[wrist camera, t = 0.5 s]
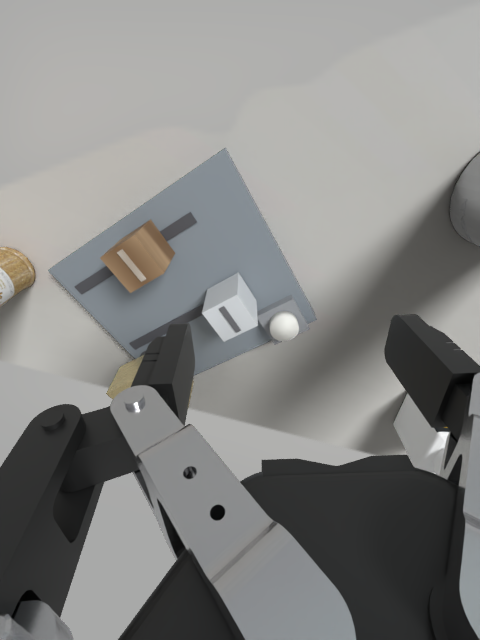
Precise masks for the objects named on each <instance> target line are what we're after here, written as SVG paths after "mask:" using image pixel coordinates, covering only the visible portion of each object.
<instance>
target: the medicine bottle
mask: <svg viewBox="0 0 480 640" xmlns="http://www.w3.org/2000/svg"><path fill="white" fill-rule="evenodd" d="M393 425H394V427H395V429H396V431H397V433H398V435H399V437H400V439H401V441H402V443H403V446H404V448H405V450H406V452H407V454H408V456H409V458H410V460H411V462H412V464H413V466H414V467H415V468H419V469H422V470H426V471H429V472H431V473H436V475H440V470H441V465H442V460H443V454H444V449H445V444H446V439H447V436H448V434H449V432H450V430H449V429H448V427H440V428H431V426H430V425H429V423H428V422H427V420H426V419H425V418H424V416H423V415H422V413H421V412H420V410H419V409H418V407H417V406H416V404H415V403H414V402H413V400H412V399H411V397H410V396H409V394H408V393H407V395H406V397H405V399H404V401H403V404H402V406H401V408H400V410H399V412H398V414H397V417H396V419H395V421H394V423H393Z"/></svg>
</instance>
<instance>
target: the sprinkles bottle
mask: <svg viewBox="0 0 480 640" xmlns="http://www.w3.org/2000/svg"><path fill="white" fill-rule="evenodd" d="M34 280H35V272H34V268H33V266H32V264H31V263H30V261H29V260H28V258H27V257H25V256H24V255H23V254H22V253H20V252H19V251H17V250H14V249H11V248H8V247H0V307H1V306H2V305H4V304H5V303H6V302H8V301H9V299H10V298H12V297H13V296H15V295H16V294H17V293H19V292H20V291H21V290H23V289H26V288H28V287H29V286H31V285H32V284H33V282H34Z"/></svg>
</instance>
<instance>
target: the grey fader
mask: <svg viewBox="0 0 480 640" xmlns="http://www.w3.org/2000/svg"><path fill="white" fill-rule="evenodd" d="M202 314H203V315H204V317H205V318H206V319H207V320H208V322H209V323H210V324H211V326H212V327H213V328H214V330H215V331H216V332H217V334H218V335H219V336H220V337H221V339H222V340H223V341H224V342H225V341H227V340H229V339H231V338H233V337H235V336H237V335H239V334H241V333H244V332H246V331H248V330H250V329H252V328H254V327H256V326H258V317H257V301H256V299H255V298H254V296H253V294H252V293H251V291H250V290H249V288H248V287H247V285H246V283H245V282H244V280H243V279H242V277H241V276H240V274H239V272H238V273H236V274H234V275H233V276H231V277H229V278H227V279H225V280H223V281H222V282H220V283H218V284H216V285H214V286H212V287H211V288H209V289H207V293H206V298H205V302H204V306H203V310H202Z"/></svg>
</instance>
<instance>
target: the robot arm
mask: <svg viewBox="0 0 480 640" xmlns="http://www.w3.org/2000/svg"><path fill="white" fill-rule="evenodd" d="M450 217H451V221H452V224H453V227H454V229H455V230H456V231H457V232H458V234H459V235H460V236H462V237H463V238H464V239H466V240H468V241H469V242H471V243H473V244H475V245H477V246H479V247H480V153H479V154H478V155H477V156H476V157H475V158H474V159H473V160H472V161H471V162H470V163H469V165H468V166H467V167H466V169H465V170H464V171H463V173H462V174H461V176H460V178H459V180H458V182H457V183H456V185H455V188H454V191H453V194H452V197H451V203H450ZM460 349H461V348H460V347H458V346H457V345H456V344H455V343H453V341H452V340H451V339H450V338H449V337H448V336H446V335H445V334H444V333H443V332H441V331H439V330H437V329H435V328H433V327H431V326H428V325H427V324H426V323H425V322H424V321H423V320H422V319H421V318H420V317H419V316H418V315H416V314H410V315H395V316H394V317H393V318H392V320H391V324H390V328H389V332H388V337H387V341H386V345H385V359H386V362H387V363H388V365H389V366H390V368H391V369H392V371H393V372H394V374H395V375H396V377H397V378H398V380H399V381H400V383H401V384H402V385H403V387H404V388H405V390H406V391H407V393H408V394H409V396H410V397H411V399H412V400H413V402H414V403H415V404H416V406H417V407H418V409H419V410H420V412H421V413H422V415H423V416H424V418H425V419H426V420H427V422H428V423H429V425H430V426H431V428H440V427H448V429H449V430H450V432H449V434H448V436H447V439H446V444H445V449H444V454H443V460H442V465H441V470H440V475H436V474H434V473H431V472H429V471H426V470H422V469H419V468H415V467H414V466H413V465H412V463H411V461H410V459H409V457H408V455H388V456H370V457H367V458H364V459H360V460H357V461H354V462H351V463H347V464H344V465H340V466H332V465H327V464H322V463H316V462H311V461H306V460H301V459H277V460H262V472H259V473H256V474H254V475H251V476H249V477H247V478H245V479H244V480H242V481H239V480H238V479H237V478H236V477H235V475H234V474H233V473H232V472H231V471H230V469H229V468H228V467H227V466H226V465H225V463H224V462H223V461H222V460H221V458H220V457H219V456H218V455H217V454H216V453H215V452H214V450H213V449H212V448H211V446H210V445H209V444H208V443H207V442H206V440H205V439H204V438H203V437H202V435H201V434H200V433H199V432H198V431H197V429H196V428H195V427H194V426H193V425H191V424H188V425H187V426H185V420H186V415H187V409H188V404H189V398H190V393H191V387H192V382H193V376H194V371H195V354H194V347H193V340H192V333H191V327H190V324H189V323H178V324H170V326H169V328H168V331H167V334H166V336H162V337H156V338H155V339H154V340H153V341H152V342H151V343H150V344H149V345H148V347H147V350H146V352H145V355H144V357H143V359H142V362H141V364H140V366H139V368H138V371H137V373H136V375H135V378H134V380H133V382H132V385H131V387H130V388H127V389H125V390H123V391H122V392H120V393H119V394H118V395H116V397H115V398H114V399H113V401H112V403H111V406H109V407H107V408H103V409H100V410H97V411H93V412H89V413H85V414H81V412H80V410H79V408H78V407H76V406H74V405H69V404H63V405H58V406H54V407H51V408H49V409H47V410H45V411H43V412H42V413H40V414H39V415H37V417H35V418H34V419H33V420H32V421H31V422H30V424H29V425H28V427H27V428H26V430H25V431H24V432H23V434H22V436H21V437H20V438H19V440H18V442H17V443H16V445H15V446H14V447H13V449H12V451H11V452H10V454H9V455H8V457H7V458H6V460H5V461H4V463H3V464H2V466H1V467H0V640H73V636H72V633H71V631H70V629H69V628H68V626H67V625H66V624H65V623H64V622H63V621H62V620H61V619H60V616H61V613H62V610H63V607H64V603H65V600H66V598H67V594H68V591H69V588H70V585H71V582H72V579H73V576H74V573H75V570H76V567H77V564H78V561H79V557H80V555H81V551H82V548H83V545H84V542H85V539H86V536H87V533H88V530H89V527H90V524H91V521H92V518H93V515H94V512H95V509H96V505H97V502H98V499H99V496H100V493H101V490H102V487H103V484H104V482H105V481H107V480H110V479H113V478H116V477H119V476H122V475H125V474H128V473H131V472H133V474H134V476H135V478H136V480H137V481H138V483H139V486H140V488H141V490H142V491H143V493H144V495H145V497H146V499H147V501H148V503H149V505H150V507H151V509H152V511H153V513H154V515H155V517H156V519H157V521H158V524H159V526H160V528H161V531H162V533H163V535H164V537H165V539H166V542H167V544H168V546H169V548H170V550H171V552H172V554H173V556H174V558H175V560H176V562H175V563H174V565H173V566H172V567H171V569H170V570H169V571H168V573H167V574H166V576H165V577H164V578H163V579H162V581H161V582H160V584H159V585H158V586H157V588H156V589H155V590H154V592H153V593H152V594H151V596H150V597H149V598H148V600H147V601H146V602H145V604H144V605H143V606H142V608H141V609H140V611H139V612H138V613H137V615H136V616H135V618H134V619H133V620H132V621H131V623H130V624H129V626H128V627H127V628H126V629H125V631H124V632H123V634H122V635H121V636H120V638H119V639H118V640H480V366H479V365H478V364H477V363H476V362H475V361H474V360H473V359H472V358H470V357H469V356H468V355H467V354H466V353H465V352H464V351H463V350H460Z"/></svg>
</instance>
